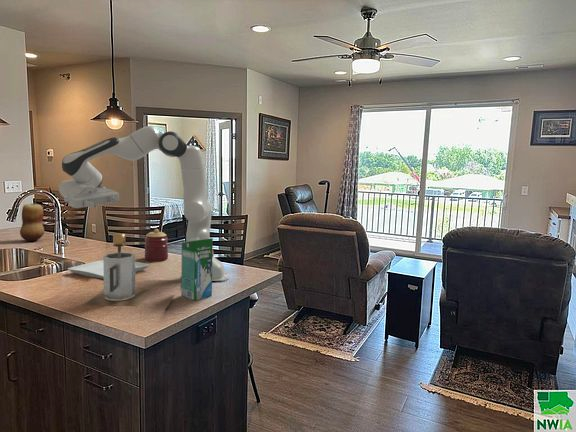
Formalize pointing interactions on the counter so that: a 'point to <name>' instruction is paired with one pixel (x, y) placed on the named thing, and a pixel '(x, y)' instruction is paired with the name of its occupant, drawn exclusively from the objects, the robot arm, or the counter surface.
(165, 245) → the canister
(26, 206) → the butternut squash
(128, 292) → the press jug
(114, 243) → the plunger
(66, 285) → the counter surface
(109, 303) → the brown flat square board
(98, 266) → the square plate
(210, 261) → the milk carton
